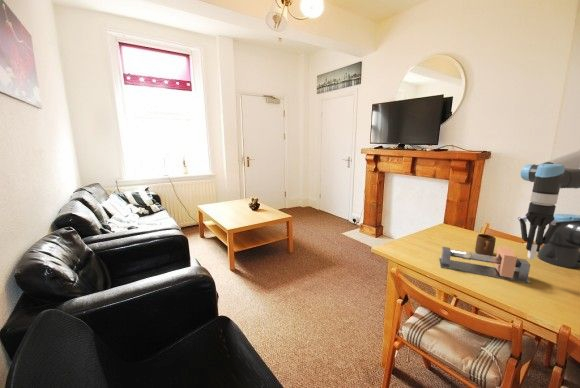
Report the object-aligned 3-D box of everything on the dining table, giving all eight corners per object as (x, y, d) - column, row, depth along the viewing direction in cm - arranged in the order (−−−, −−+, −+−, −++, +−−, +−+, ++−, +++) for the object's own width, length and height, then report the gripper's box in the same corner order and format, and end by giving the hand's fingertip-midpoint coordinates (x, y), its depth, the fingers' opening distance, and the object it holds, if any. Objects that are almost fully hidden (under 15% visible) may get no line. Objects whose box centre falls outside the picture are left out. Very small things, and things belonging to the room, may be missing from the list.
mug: (495, 261, 124) (499, 243, 122) (476, 258, 128) (479, 240, 125) (491, 252, 134) (494, 235, 132) (473, 249, 138) (476, 232, 136)
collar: (505, 267, 116) (509, 247, 114) (512, 278, 107) (517, 257, 105) (494, 265, 118) (498, 246, 115) (500, 276, 109) (504, 255, 107)
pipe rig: (522, 273, 113) (525, 257, 112) (530, 283, 105) (534, 266, 104) (439, 259, 127) (441, 244, 125) (440, 267, 119) (442, 251, 117)
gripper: (560, 202, 103) (547, 257, 108) (518, 199, 108) (508, 251, 113) (570, 207, 96) (555, 265, 101) (525, 203, 102) (513, 258, 107)
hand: (530, 257), depth 107 cm, fingers closed
